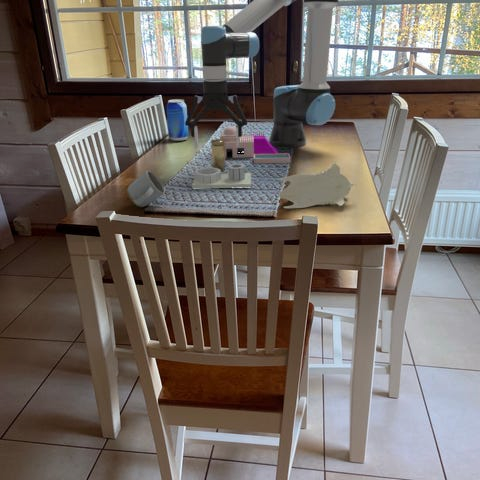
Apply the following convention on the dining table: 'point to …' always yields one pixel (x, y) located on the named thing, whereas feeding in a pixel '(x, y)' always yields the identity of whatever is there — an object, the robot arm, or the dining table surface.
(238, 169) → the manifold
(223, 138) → the model house
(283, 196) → the beige lumpy piece
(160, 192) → the ceramic mug
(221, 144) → the cylinder
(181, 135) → the beer can
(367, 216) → the dining table surface
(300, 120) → the robot arm
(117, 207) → the dining table surface
